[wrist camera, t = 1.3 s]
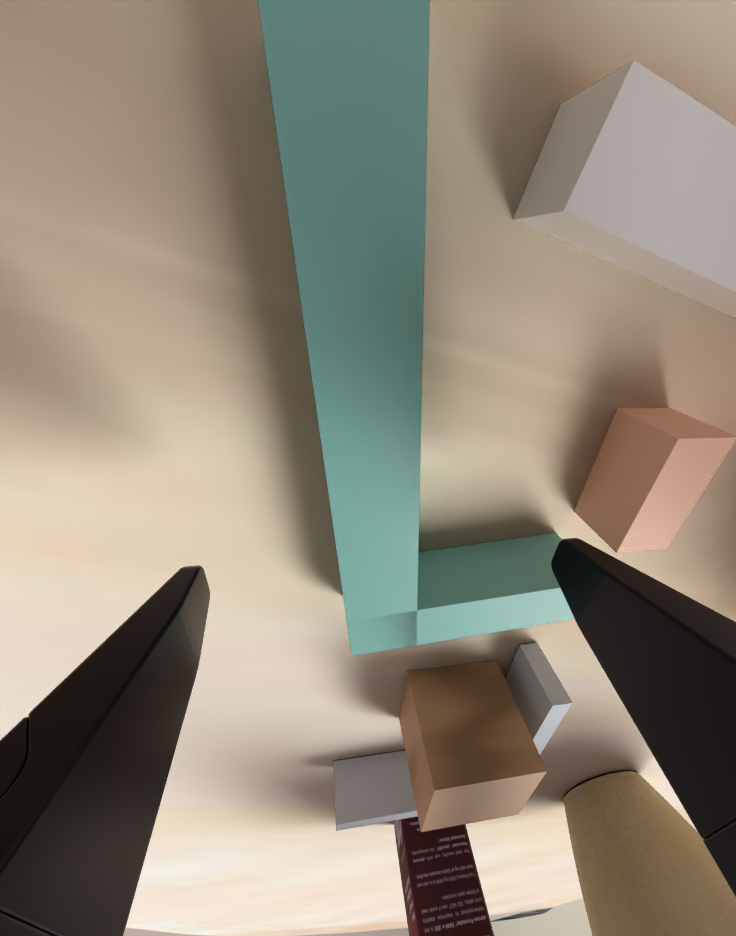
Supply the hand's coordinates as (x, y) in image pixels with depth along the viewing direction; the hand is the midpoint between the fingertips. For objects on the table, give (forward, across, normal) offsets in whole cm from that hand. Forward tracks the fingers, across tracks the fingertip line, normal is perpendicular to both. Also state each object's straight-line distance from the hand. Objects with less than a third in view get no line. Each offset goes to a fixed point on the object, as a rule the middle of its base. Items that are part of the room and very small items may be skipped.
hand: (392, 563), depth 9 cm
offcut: (+4, -9, 0) cm, 10 cm away
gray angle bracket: (+4, -4, +17) cm, 18 cm away
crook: (+4, -3, -3) cm, 6 cm away
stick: (+4, -8, -7) cm, 12 cm away
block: (+4, -5, +15) cm, 16 cm away
